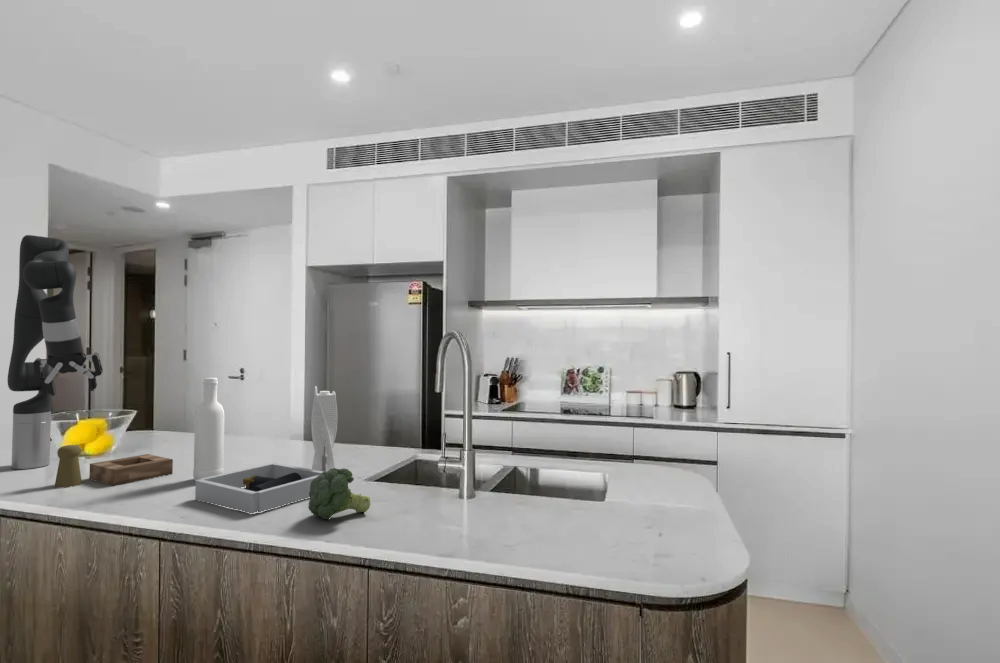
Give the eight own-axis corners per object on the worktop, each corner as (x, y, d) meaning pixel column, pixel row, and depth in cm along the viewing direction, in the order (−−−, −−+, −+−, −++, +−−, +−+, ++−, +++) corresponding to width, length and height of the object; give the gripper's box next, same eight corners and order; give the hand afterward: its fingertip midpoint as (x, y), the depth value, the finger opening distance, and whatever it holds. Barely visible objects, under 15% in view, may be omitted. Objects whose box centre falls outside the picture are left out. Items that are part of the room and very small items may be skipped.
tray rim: (193, 499, 139) (193, 480, 139) (273, 479, 160) (273, 462, 161) (254, 515, 127) (254, 494, 128) (331, 491, 149) (332, 473, 149)
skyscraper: (301, 482, 158) (303, 386, 158) (320, 475, 165) (322, 384, 166) (324, 485, 155) (326, 387, 155) (343, 478, 162) (344, 385, 163)
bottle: (227, 479, 160) (229, 378, 160) (198, 484, 154) (201, 379, 154) (217, 474, 165) (219, 376, 166) (189, 479, 159) (191, 377, 160)
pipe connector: (227, 481, 138) (268, 468, 153) (226, 502, 138) (267, 487, 153) (264, 486, 135) (302, 472, 149) (264, 508, 135) (302, 492, 149)
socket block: (89, 479, 158) (89, 463, 158) (147, 468, 172) (147, 454, 172) (114, 485, 151) (114, 469, 151) (172, 474, 165) (172, 459, 165)
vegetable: (379, 513, 124) (319, 491, 117) (350, 542, 129) (291, 524, 122) (381, 472, 134) (326, 450, 127) (354, 501, 139) (300, 481, 132)
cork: (70, 487, 149) (71, 447, 149) (48, 487, 149) (49, 447, 149) (87, 482, 155) (88, 443, 155) (66, 481, 155) (67, 443, 155)
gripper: (97, 329, 150) (107, 384, 154) (32, 334, 143) (44, 391, 148) (92, 337, 144) (103, 393, 148) (24, 342, 137) (36, 401, 142)
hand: (73, 392), depth 148 cm, fingers open, 8 cm apart
